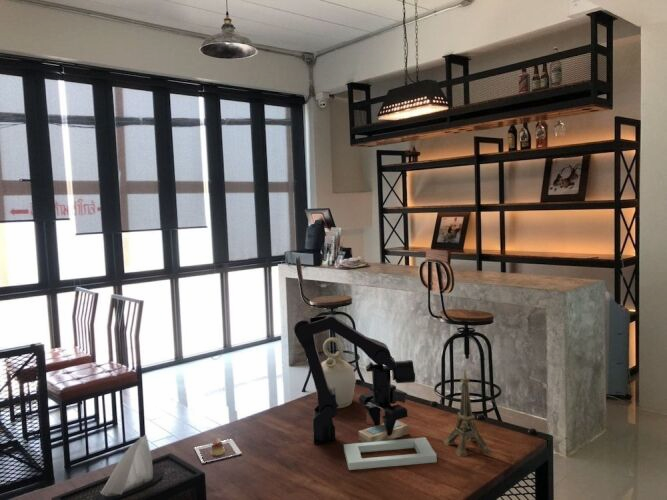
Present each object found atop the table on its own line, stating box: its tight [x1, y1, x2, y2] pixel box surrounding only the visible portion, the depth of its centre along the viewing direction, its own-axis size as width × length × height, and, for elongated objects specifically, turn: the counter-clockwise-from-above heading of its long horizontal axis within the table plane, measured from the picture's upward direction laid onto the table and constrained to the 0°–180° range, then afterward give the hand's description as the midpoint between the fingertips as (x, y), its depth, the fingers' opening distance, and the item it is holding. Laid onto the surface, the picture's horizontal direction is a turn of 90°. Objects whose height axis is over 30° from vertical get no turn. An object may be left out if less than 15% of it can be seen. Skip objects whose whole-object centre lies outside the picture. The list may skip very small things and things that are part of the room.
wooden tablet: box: [366, 404, 394, 427], centre depth 192 cm, size 27×10×2 cm, turn 176°
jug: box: [314, 336, 357, 409], centre depth 201 cm, size 15×16×25 cm
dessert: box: [193, 438, 243, 464], centre depth 165 cm, size 12×12×5 cm
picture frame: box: [358, 419, 409, 443], centre depth 170 cm, size 15×6×3 cm, turn 122°
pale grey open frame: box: [343, 437, 438, 471], centre depth 157 cm, size 25×12×2 cm, turn 95°
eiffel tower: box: [442, 370, 493, 458], centre depth 160 cm, size 11×11×25 cm
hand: (383, 431), depth 170 cm, fingers open, 6 cm apart
